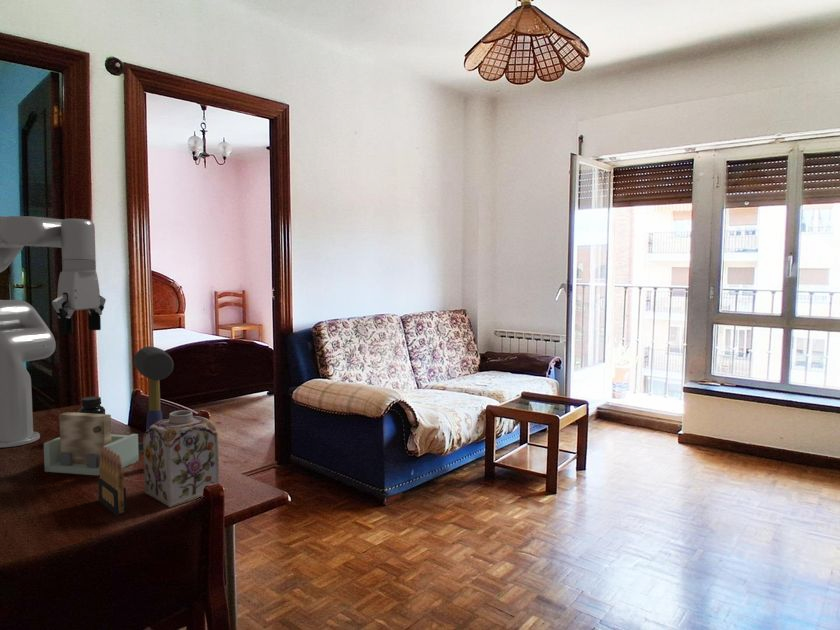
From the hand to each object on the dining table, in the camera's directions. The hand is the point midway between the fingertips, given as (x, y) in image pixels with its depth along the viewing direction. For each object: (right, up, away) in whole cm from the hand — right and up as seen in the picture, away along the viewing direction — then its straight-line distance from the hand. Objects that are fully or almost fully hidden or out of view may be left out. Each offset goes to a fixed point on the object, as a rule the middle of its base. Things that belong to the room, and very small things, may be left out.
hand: (81, 331), depth 146 cm
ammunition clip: (+26, -35, -32) cm, 54 cm away
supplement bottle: (-5, -32, +13) cm, 35 cm away
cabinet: (+8, -33, -8) cm, 35 cm away
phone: (+10, -33, +3) cm, 34 cm away
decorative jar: (+37, -35, -24) cm, 56 cm away
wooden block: (+8, -32, -10) cm, 34 cm away
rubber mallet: (+24, -34, -9) cm, 42 cm away
